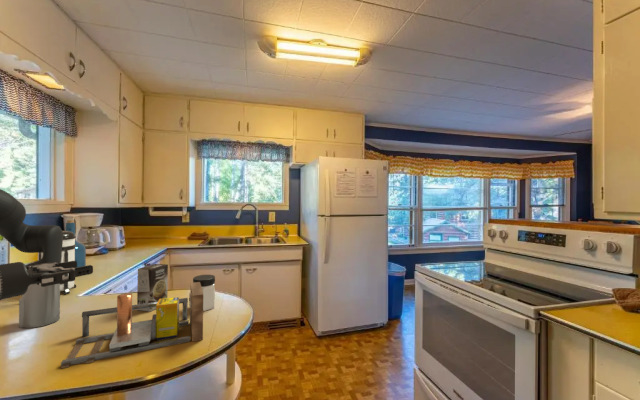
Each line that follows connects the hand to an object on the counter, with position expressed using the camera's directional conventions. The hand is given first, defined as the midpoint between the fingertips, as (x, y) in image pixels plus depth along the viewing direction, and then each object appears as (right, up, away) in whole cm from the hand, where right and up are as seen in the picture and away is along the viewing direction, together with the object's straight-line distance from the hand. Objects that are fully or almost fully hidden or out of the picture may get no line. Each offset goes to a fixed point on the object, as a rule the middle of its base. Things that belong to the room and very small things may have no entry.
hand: (84, 266), depth 74 cm
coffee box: (-4, -25, +38) cm, 45 cm away
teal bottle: (-73, -24, +78) cm, 110 cm away
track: (+7, -25, +10) cm, 28 cm away
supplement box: (+14, -25, +15) cm, 33 cm away
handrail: (+2, -25, +20) cm, 32 cm away
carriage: (+7, -24, +11) cm, 27 cm away
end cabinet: (+22, -25, +18) cm, 38 cm away
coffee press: (-55, -24, +51) cm, 78 cm away
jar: (+16, -25, +38) cm, 48 cm away
